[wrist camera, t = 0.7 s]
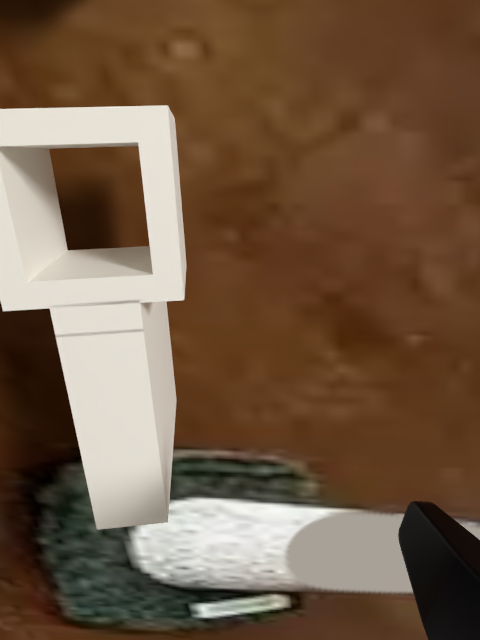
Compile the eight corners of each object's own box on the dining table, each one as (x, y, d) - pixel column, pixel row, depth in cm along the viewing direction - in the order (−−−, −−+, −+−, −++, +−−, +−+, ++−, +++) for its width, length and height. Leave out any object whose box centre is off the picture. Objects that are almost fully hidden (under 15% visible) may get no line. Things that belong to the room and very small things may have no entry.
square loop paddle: (105, 406, 22) (60, 533, 15) (56, 129, 17) (-50, 110, 10) (199, 398, 22) (202, 518, 15) (178, 126, 17) (167, 105, 10)
